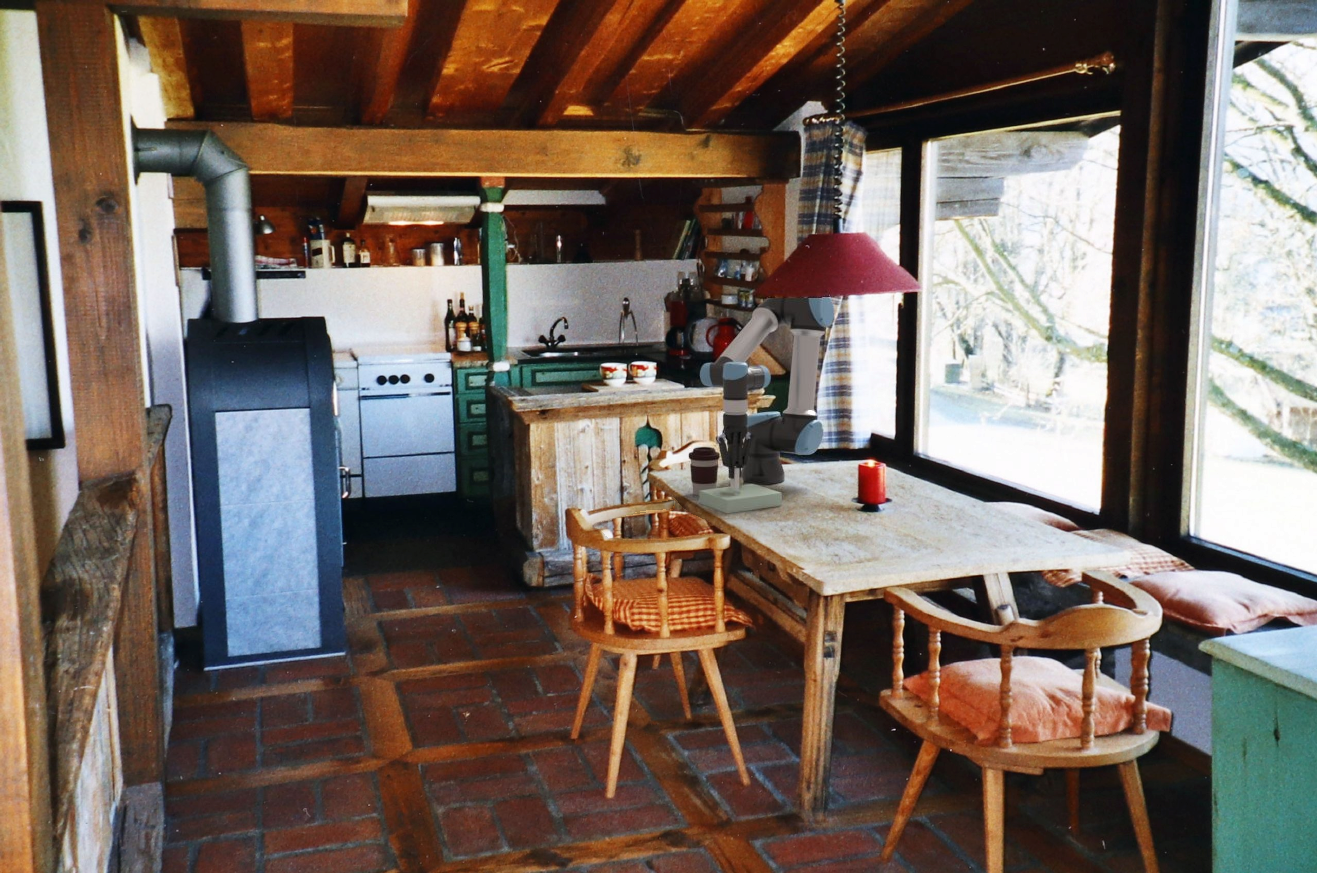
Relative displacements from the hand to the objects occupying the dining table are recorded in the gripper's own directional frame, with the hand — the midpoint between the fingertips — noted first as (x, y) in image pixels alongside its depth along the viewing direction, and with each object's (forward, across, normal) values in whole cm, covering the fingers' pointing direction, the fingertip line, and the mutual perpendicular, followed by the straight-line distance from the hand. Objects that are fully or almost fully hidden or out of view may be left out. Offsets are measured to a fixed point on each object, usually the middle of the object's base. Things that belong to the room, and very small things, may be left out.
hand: (734, 488), depth 353 cm
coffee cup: (+6, 0, -18) cm, 19 cm away
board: (+5, -2, 0) cm, 6 cm away
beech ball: (0, -5, -6) cm, 8 cm away
